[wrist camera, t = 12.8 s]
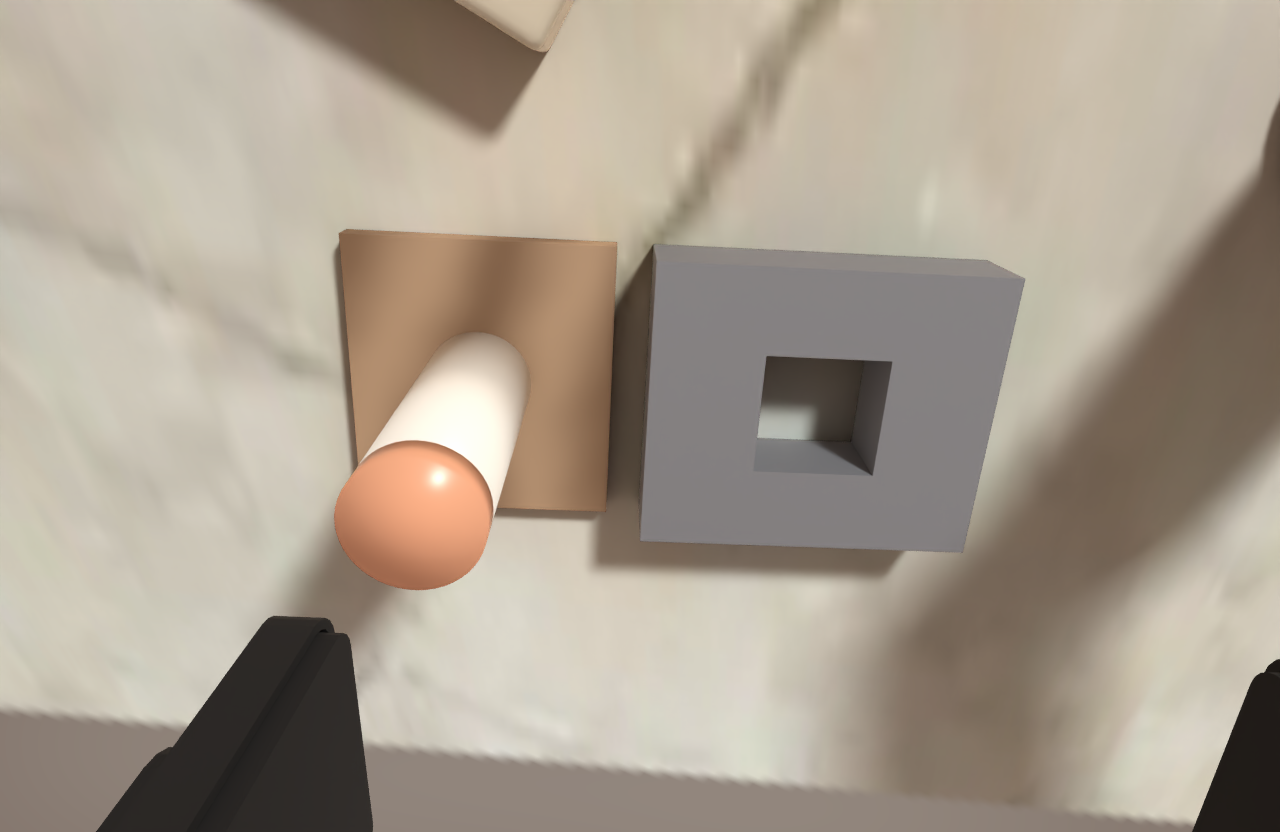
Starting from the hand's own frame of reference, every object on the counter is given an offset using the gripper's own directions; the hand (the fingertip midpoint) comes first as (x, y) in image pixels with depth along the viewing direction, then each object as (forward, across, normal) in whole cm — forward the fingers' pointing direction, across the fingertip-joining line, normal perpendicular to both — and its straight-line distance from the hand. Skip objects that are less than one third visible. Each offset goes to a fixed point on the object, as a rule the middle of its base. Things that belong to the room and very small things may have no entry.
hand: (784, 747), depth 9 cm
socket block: (+28, -5, +6) cm, 29 cm away
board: (+27, +9, +6) cm, 29 cm away
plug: (+26, +9, +6) cm, 28 cm away
